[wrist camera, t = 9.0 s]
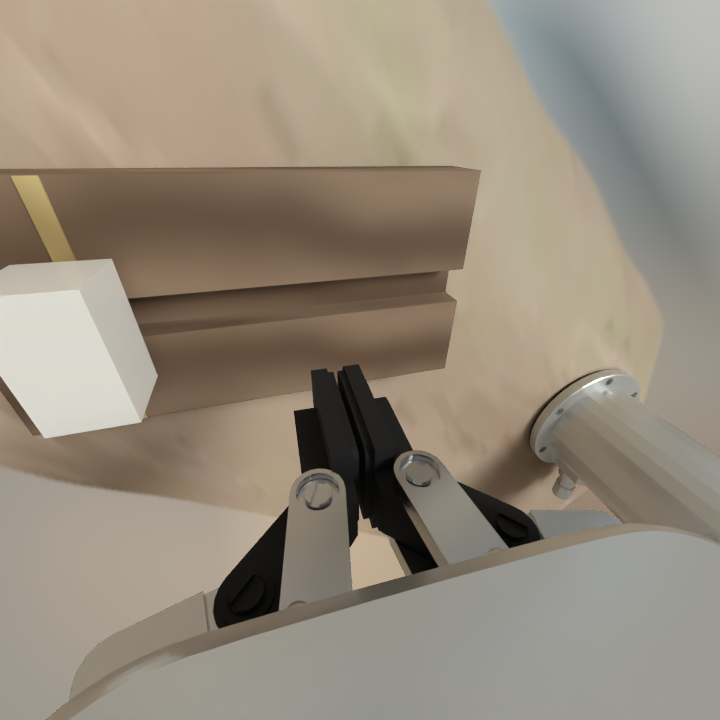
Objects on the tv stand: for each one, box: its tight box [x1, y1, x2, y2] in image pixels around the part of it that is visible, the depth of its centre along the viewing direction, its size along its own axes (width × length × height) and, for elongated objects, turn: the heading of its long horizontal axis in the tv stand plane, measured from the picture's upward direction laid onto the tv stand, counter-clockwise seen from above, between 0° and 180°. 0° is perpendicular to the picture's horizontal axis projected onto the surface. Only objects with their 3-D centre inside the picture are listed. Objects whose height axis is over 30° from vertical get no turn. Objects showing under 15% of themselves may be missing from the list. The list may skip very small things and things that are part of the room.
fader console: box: [0, 166, 481, 436], centre depth 18 cm, size 12×24×3 cm, turn 89°
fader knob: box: [0, 259, 158, 438], centre depth 15 cm, size 6×4×5 cm, turn 179°
